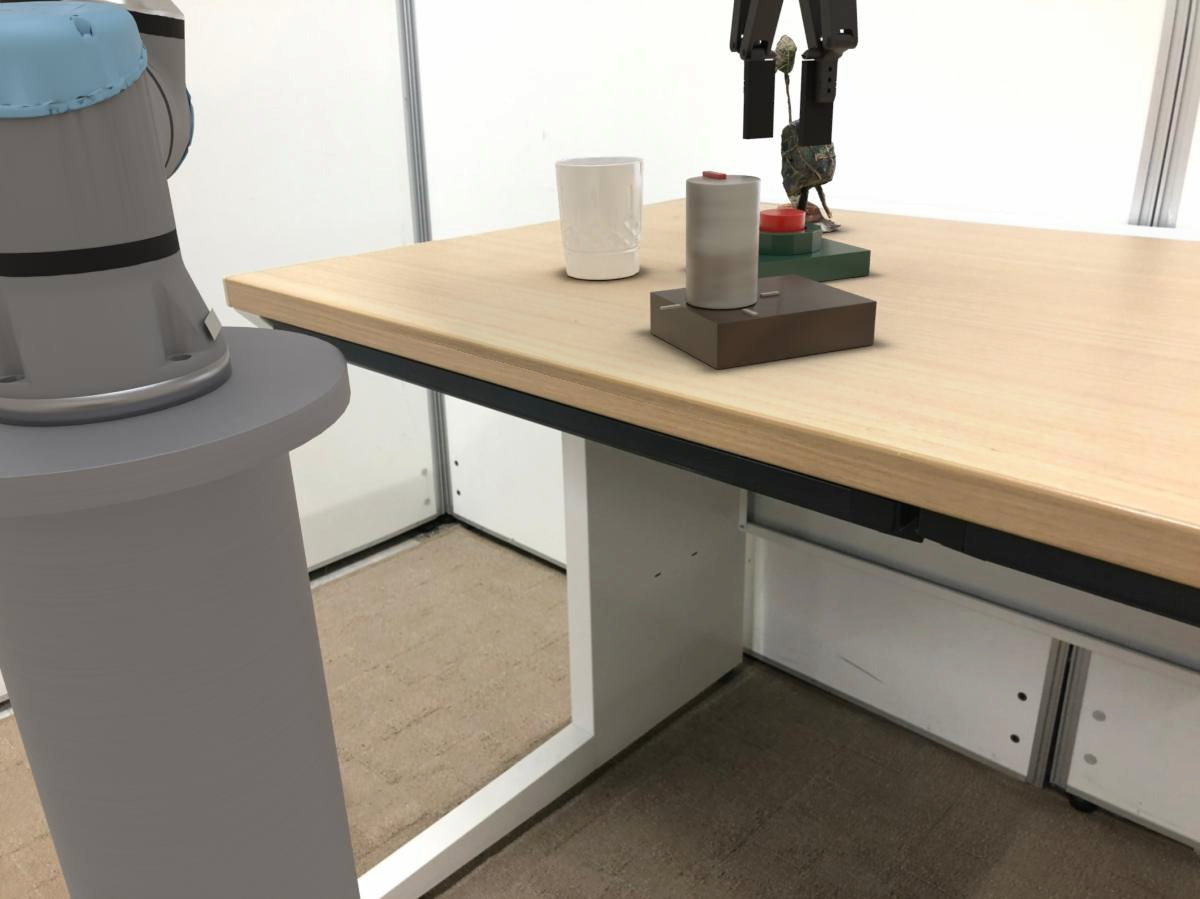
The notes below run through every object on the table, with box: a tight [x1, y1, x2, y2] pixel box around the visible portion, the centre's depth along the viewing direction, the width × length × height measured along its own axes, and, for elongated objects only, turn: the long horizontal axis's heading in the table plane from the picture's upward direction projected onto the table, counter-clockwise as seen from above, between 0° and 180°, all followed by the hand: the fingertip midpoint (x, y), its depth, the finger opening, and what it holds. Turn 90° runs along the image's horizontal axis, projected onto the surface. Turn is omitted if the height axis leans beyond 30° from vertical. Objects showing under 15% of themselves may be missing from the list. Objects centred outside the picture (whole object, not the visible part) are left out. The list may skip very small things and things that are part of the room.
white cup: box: [554, 155, 645, 281], centre depth 89 cm, size 8×8×10 cm
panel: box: [649, 274, 878, 370], centre depth 68 cm, size 14×10×3 cm
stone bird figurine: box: [772, 34, 842, 234], centre depth 105 cm, size 8×11×20 cm
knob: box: [685, 170, 762, 309], centre depth 65 cm, size 5×5×8 cm
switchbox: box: [758, 222, 872, 283], centre depth 88 cm, size 12×10×4 cm
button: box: [759, 208, 805, 232], centre depth 87 cm, size 4×4×2 cm
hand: (785, 141), depth 85 cm, fingers open, 8 cm apart
